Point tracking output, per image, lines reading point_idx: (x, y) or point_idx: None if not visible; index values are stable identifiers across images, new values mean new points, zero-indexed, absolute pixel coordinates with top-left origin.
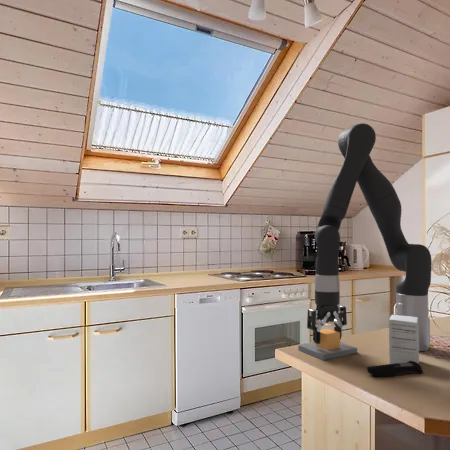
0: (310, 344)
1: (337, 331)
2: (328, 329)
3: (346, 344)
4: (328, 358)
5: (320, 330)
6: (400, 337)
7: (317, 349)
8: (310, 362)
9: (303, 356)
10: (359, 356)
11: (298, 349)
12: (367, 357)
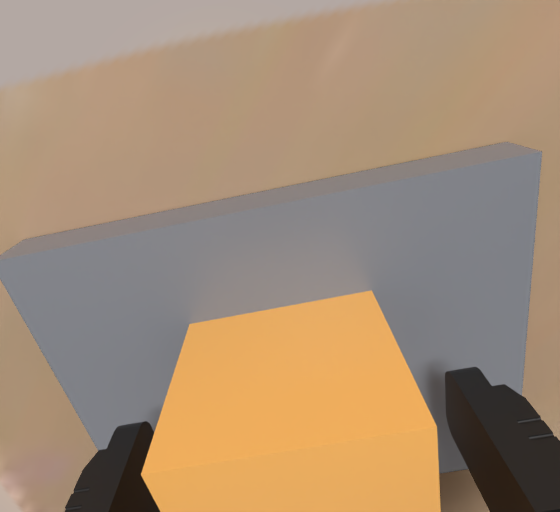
0: (148, 279)
1: (498, 499)
2: (412, 461)
3: (517, 371)
4: None
5: (238, 476)
6: None
7: (151, 422)
8: (44, 492)
9: (26, 395)
10: (442, 478)
11: (22, 242)
12: (475, 499)
